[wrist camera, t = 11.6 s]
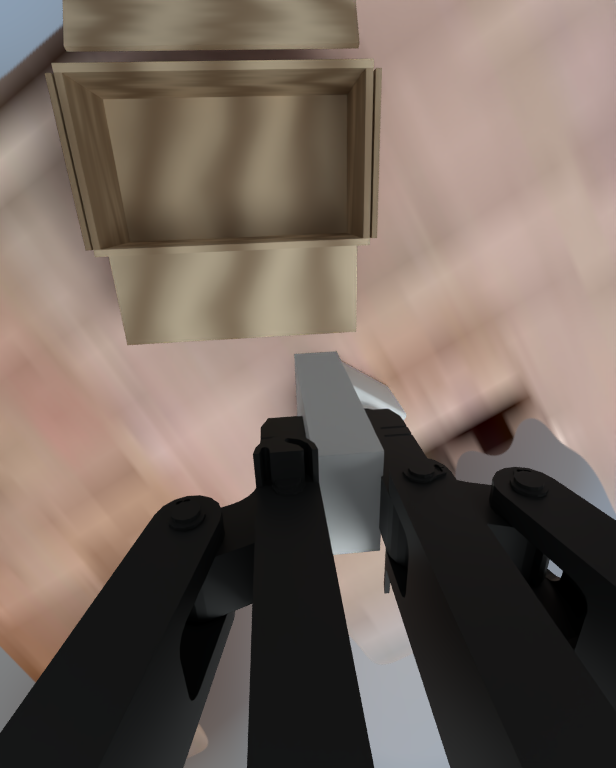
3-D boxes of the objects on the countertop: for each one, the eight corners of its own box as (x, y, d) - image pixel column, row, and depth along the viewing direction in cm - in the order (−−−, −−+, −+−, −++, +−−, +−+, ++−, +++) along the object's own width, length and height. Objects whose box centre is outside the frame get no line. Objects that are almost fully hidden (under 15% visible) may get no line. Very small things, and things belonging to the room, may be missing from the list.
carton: (358, 88, 36) (382, 58, 28) (356, 309, 43) (374, 330, 36) (90, 93, 34) (41, 63, 27) (135, 321, 42) (107, 346, 34)
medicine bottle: (302, 409, 47) (312, 471, 36) (335, 357, 45) (358, 405, 34) (354, 435, 49) (379, 501, 38) (389, 386, 47) (426, 441, 36)
